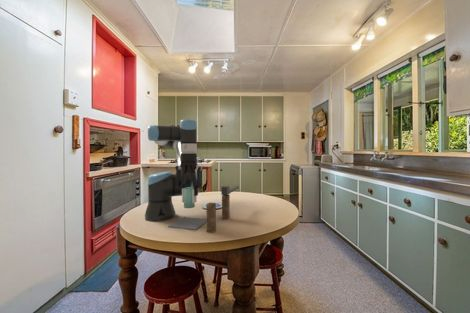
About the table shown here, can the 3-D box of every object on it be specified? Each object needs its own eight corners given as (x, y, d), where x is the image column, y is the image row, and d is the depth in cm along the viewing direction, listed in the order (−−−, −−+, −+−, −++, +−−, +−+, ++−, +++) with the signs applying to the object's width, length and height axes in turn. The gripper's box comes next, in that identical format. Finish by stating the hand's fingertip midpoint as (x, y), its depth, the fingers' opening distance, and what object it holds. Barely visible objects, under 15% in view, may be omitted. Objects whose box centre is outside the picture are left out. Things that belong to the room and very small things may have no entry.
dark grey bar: (221, 195, 110) (221, 186, 110) (235, 187, 132) (235, 180, 132) (227, 195, 109) (227, 187, 109) (240, 187, 131) (240, 180, 131)
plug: (181, 207, 103) (181, 188, 103) (187, 205, 108) (187, 186, 108) (191, 208, 102) (191, 189, 101) (196, 206, 106) (196, 187, 106)
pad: (168, 226, 101) (168, 225, 101) (184, 217, 114) (184, 216, 114) (195, 230, 96) (195, 229, 96) (209, 220, 110) (209, 219, 110)
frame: (206, 232, 94) (206, 204, 94) (224, 217, 114) (224, 194, 114) (213, 232, 93) (213, 204, 93) (229, 217, 113) (229, 194, 113)
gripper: (167, 153, 103) (168, 202, 104) (202, 153, 98) (202, 205, 98) (176, 152, 110) (177, 199, 111) (209, 152, 105) (209, 201, 106)
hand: (189, 202), depth 105 cm, fingers closed on plug, 5 cm apart
